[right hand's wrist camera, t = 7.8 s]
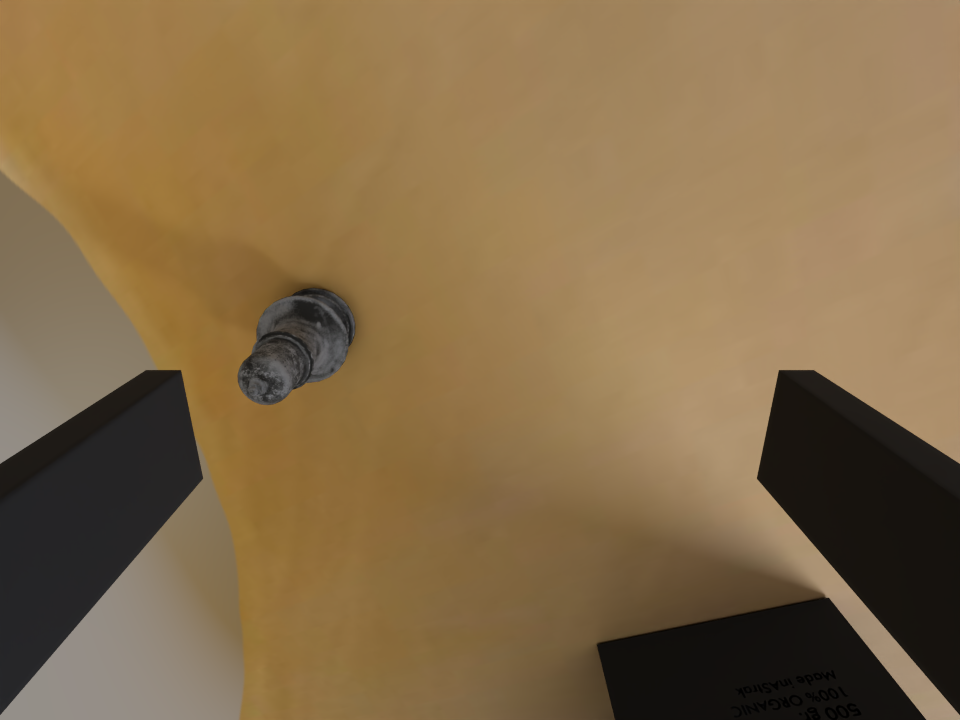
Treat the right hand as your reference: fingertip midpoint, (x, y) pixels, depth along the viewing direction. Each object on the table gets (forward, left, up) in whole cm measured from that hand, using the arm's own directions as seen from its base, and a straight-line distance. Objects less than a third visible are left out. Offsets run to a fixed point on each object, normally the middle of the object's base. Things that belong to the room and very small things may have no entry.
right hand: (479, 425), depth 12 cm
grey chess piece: (+10, -8, -26) cm, 29 cm away
